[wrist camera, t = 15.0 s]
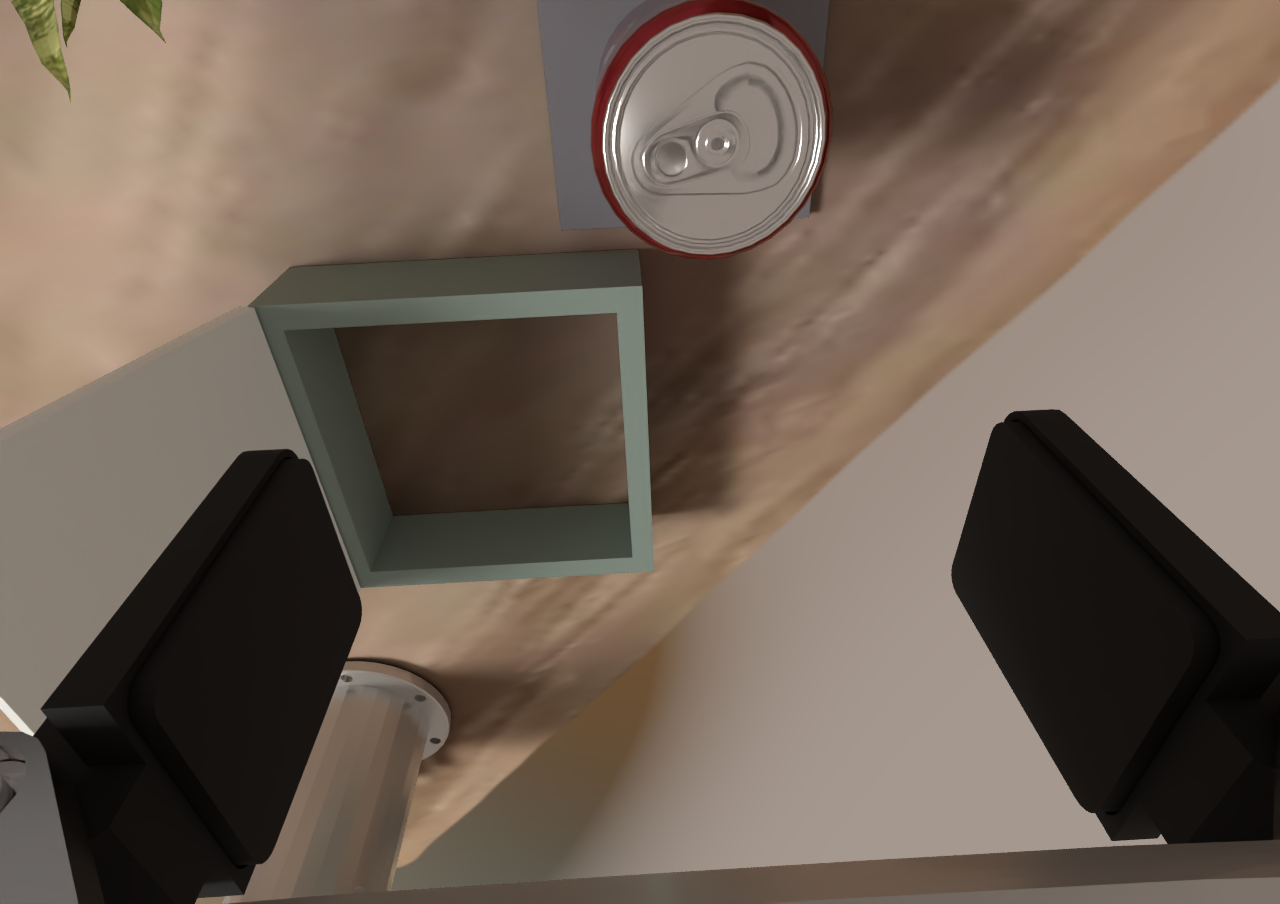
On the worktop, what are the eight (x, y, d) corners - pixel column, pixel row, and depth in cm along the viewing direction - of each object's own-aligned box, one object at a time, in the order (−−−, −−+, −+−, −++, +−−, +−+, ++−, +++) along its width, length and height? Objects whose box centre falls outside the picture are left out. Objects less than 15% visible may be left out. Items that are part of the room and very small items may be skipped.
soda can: (751, -33, 28) (829, -38, 18) (773, 155, 32) (846, 236, 22) (576, 16, 29) (558, 38, 19) (619, 194, 33) (623, 289, 23)
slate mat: (806, 213, 34) (809, 217, 34) (561, 226, 34) (560, 230, 33) (835, -98, 27) (839, -99, 27) (529, -83, 27) (528, -84, 27)
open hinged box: (649, 516, 45) (672, 814, 29) (292, 535, 44) (117, 846, 29) (638, 248, 35) (662, 479, 19) (179, 273, 35) (-185, 525, 19)
